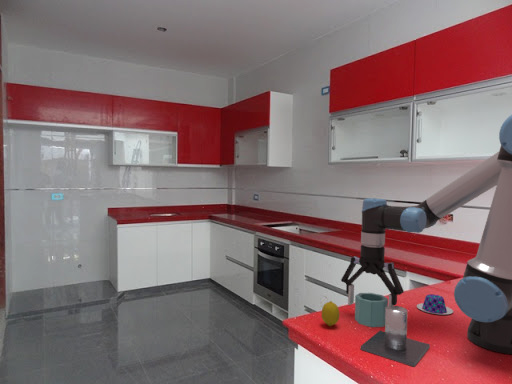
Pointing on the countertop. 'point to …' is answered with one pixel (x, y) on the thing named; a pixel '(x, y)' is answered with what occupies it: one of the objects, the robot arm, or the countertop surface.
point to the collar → (370, 309)
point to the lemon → (330, 313)
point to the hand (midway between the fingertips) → (370, 309)
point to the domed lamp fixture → (396, 339)
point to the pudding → (434, 305)
